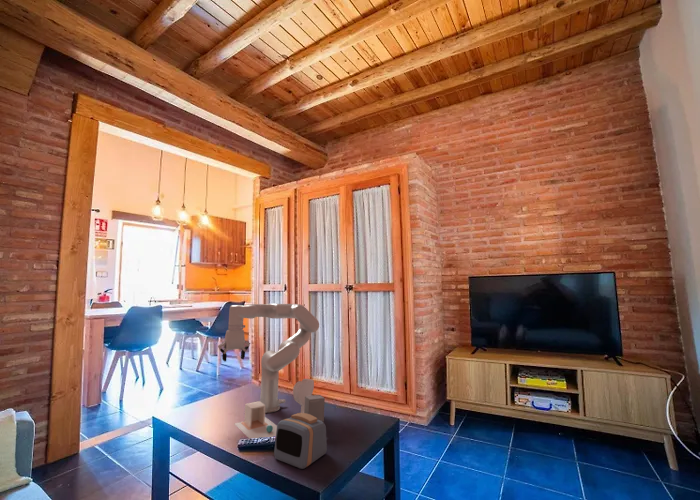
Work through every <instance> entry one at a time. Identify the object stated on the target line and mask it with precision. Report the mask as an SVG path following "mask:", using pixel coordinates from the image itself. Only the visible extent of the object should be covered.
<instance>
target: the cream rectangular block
mask: <svg viewBox="0 0 700 500" xmlns="http://www.w3.org/2000/svg"><path fill="white" fill-rule="evenodd" d="M265 417H266V413H265V405H264V404H263V403H261V402H260V400H258V401H253V402H247V403H245V405H244V417H243V418H244V423H245V424H246V425H247V426H248V427H249V428H251V423H252V421H256V420H258V421H259V422H261V423H262V424H263V425H264V424H265Z"/></svg>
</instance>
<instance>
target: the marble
mask: <svg viewBox="0 0 700 500" xmlns="http://www.w3.org/2000/svg"><path fill="white" fill-rule="evenodd" d="M266 430H267V432H271V431H272V430H273V427H272V426H271V425H269V426H267V428H266Z"/></svg>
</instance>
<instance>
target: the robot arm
mask: <svg viewBox="0 0 700 500" xmlns="http://www.w3.org/2000/svg"><path fill="white" fill-rule="evenodd" d="M228 313H229V314H228V328H227V330H226V332H225V336H224V341H223V342H222V343H220V344H218V345H217V347H218V350H219V351H220V352H221V353H222V357H221V359H222V361H223V362H227V359H228V358H227V355H228V354H227V352H228V351H231V350H232V351H233V350H241V351H240V360H245V358H246V352H247V350H248V349H249V347H250V345H251V342H249V341H247V340H245V336H246V335H245V328H246V325H245V324H244V319H250V320H251V319H255V318H269V319H273V320H274V319H276V320H277V319H295V320H297V322H299V329H298V330H297V332H296V333H294V334H293V335H291V336H290V337H289V338H288V339H286V340H284V341H282V342H281V343H280V344H279V347H278V351H275V350H267V351H265V352H264V353H263V355H262V357H261V362H260V363H261V380H260V381H261V382H260V397H259V399H260V400H259V401H260V402H261V403H263V404H264V405H265V414H268V413H269V414H270V413H275V412H278V411H279V410H280V409H281V404H285V403H286V399H285V398H284V399H281V398H279V399H278V396H279V375H280V373H279V372H280V371H281V370H282V369H284V368H285V367H287V366H288V365H289V364H291V363H292V362H293V361H295V360H296V359H297V358H298V357H299V356H300V352H301V351H300V349H301V348H302V347H303V346H304V345H306V344H307V343H308V342H309V340H310V339H311V335H312V333H315V332H317V331H318V330H319V327H320V322H319V320H318V319H317V318H316V317H315V316H314V315H313V314H312V313H311V312H310V310H308V309H307V308H306V307H305V306H304V305H302V304H298V303H266V304H264V303H259V304H258V303H257V304H256V303H250V304H249V303H247V304H245V305H242V304H231V305H230V306H229V311H228Z"/></svg>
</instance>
